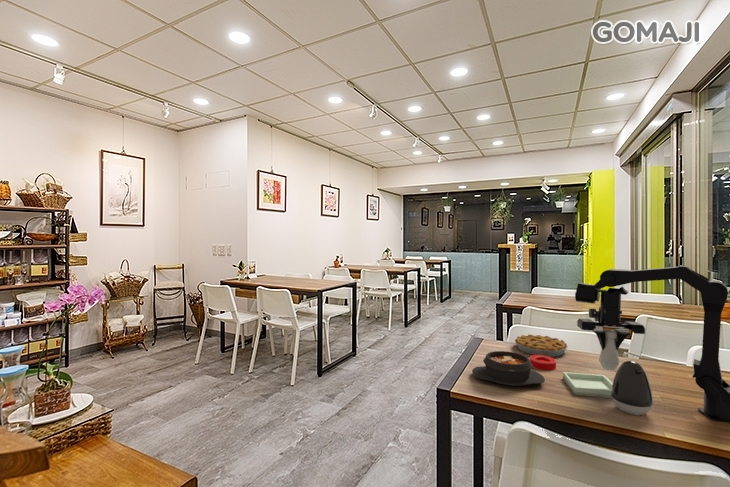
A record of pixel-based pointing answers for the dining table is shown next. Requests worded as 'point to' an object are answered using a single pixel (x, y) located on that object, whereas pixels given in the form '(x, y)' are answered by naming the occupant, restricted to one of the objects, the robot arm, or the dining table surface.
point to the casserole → (508, 369)
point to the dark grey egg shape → (632, 389)
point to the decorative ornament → (543, 362)
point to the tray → (588, 384)
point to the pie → (541, 345)
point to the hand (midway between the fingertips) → (609, 350)
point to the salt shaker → (609, 351)
